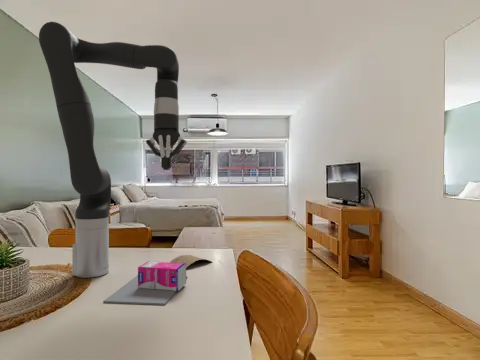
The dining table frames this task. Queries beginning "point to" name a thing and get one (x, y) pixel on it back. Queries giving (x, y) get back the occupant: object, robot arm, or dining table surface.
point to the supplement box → (162, 275)
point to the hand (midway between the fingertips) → (166, 169)
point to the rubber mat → (139, 295)
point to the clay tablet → (186, 259)
